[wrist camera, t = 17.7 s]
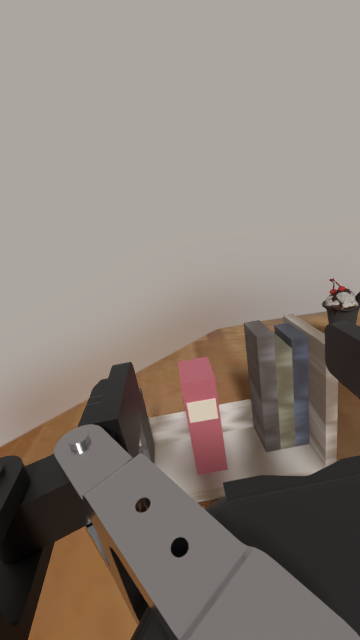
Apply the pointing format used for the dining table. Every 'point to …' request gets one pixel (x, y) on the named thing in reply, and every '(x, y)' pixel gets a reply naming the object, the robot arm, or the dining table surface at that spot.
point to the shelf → (246, 436)
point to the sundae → (342, 305)
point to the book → (203, 415)
